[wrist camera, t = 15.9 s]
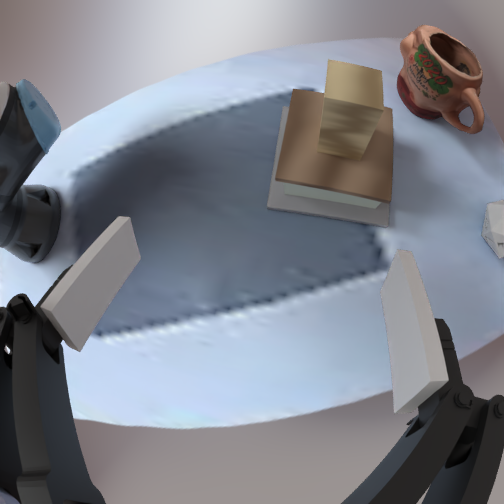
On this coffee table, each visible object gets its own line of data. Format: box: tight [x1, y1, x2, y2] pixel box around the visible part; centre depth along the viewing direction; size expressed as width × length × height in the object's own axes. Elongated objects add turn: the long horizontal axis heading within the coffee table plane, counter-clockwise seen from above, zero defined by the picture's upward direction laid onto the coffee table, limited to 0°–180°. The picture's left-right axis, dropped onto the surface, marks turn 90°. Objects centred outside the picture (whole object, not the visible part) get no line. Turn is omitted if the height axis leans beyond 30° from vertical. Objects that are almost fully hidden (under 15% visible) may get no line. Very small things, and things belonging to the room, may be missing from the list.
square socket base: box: [267, 106, 389, 228], centre depth 33 cm, size 16×16×6 cm
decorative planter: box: [397, 25, 484, 134], centre depth 28 cm, size 20×12×14 cm, turn 17°
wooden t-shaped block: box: [275, 59, 393, 204], centre depth 25 cm, size 13×13×11 cm
